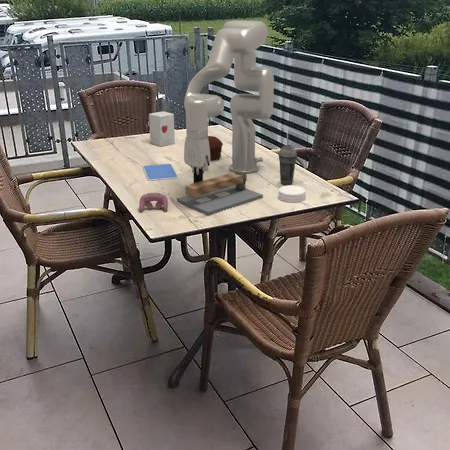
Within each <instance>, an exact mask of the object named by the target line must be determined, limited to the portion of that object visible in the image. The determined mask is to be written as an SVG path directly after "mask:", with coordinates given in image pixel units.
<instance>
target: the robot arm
mask: <svg viewBox="0 0 450 450" xmlns="http://www.w3.org/2000/svg"><path fill="white" fill-rule="evenodd" d="M267 38H268V26H267V24H265V22H263V21H260V20H239V19H236V20H229V21H226V22H225V23H223V27H222V29H219V30H218V31H217V32H216V34H215V37H214V41H213V44H212V47H211V50H210V54H209V58H208V61H207V64H206V65H205V66H204V67H203V68H202V69H201V70H200V71H198V72H197V73H196V74H195V75H194V76H193V77H192V79H191V80H190V82H189V83H188V86H187V89H186V92H185V94H184V95H185V96H184V102H183V107H184V110H185V125H186V127H185V128H186V129H185V130H186V137H185V138H184V139H185V140H184V147H183V148H184V149H183V153H184V154H183V160H184V163H185V164H186V165H188V166H189V167H190V168H191V173H192V174H193V175H192V179H193V183H197V182H200V181H204V174H205V172H209V170H210V169H209V166H211V161H210V147H209V141H208V136H209V124H208V123H209V120H208V119H209V118H214V117H217V116H219V115H221V114H222V112H223V111H224V109H225V102H224V100H223V98H222V97H221V96H218V95H216V94H209V93H208V94H207V93H200V92H201V91H202V90H203V88H204V87H206V86H207V85H208V84H210V83H212V82H214V81H217V80H220V79H222V78H224V77H226V76H227V75H229V74H230V71H231V68H232V64H234V65H233V66H234V67H233V78H234V79H233V80H234V82H233V84H234V87H235V88H236V89H237V90H238V91H244V92H257V93H259V94H251V93H249V94H248V93H237V94H235V95H233V96H232V97H231V99H230V102H229V110H230V111H229V112H230V116H231V123H232V125H231V126H232V127H231V128H232V132H231V133H232V134H231V135H232V140H231V141H232V143H231V144H232V146H231V147H232V148H231V149H232V154H231V155H232V158H231V159H232V161H231V164H229V165H228V170H229V172H230V173H233V172H238V171H243V172H246V173H247V174H253V173H255V172H257V171H259V166H258V165H257V164H258V163H261V162H263V160H264V159H263V157H261V156H259V157H256V126H255V124H254V122H253V120H260V121H262V120H263V121H266V120H269V119H270V118H271V117H272V115H273V109H274V108H273V107H274V93H275V92H274V89H275V87H274V86H275V76H274V74H273V71H272V70H271V69H270V68H269V67H266V66H264V67H263V66H257V64H256V63H257V62H256V60H257V58H256V57H257V53H256V51H255V50H257V49H258V48H260V47H261V46H263V44H265V42H266V40H267ZM233 62H234V63H233Z"/></svg>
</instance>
